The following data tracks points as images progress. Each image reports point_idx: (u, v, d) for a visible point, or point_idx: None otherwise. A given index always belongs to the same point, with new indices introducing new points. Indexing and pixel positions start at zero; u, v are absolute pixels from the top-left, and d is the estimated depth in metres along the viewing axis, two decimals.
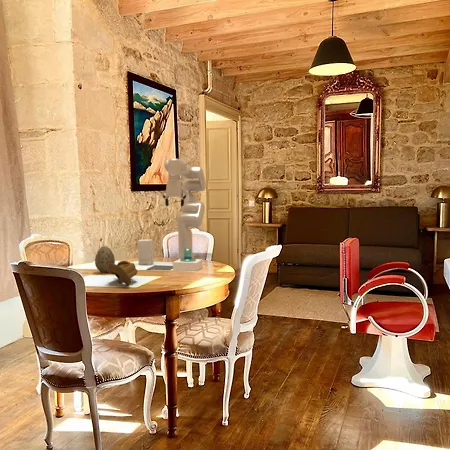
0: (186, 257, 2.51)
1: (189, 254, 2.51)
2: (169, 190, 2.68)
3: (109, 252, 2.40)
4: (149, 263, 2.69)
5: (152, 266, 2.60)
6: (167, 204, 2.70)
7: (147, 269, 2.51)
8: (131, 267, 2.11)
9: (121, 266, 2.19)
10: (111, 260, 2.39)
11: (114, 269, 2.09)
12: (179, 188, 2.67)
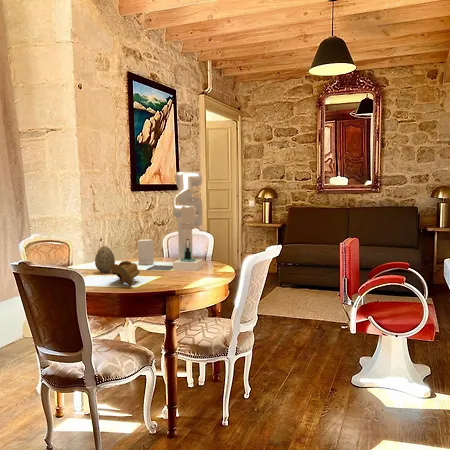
0: None
1: None
2: (191, 239, 2.50)
3: (109, 252, 2.40)
4: (149, 263, 2.69)
5: (152, 266, 2.60)
6: None
7: (147, 269, 2.51)
8: (133, 267, 2.11)
9: (123, 266, 2.18)
10: (111, 260, 2.39)
11: (116, 269, 2.09)
12: None
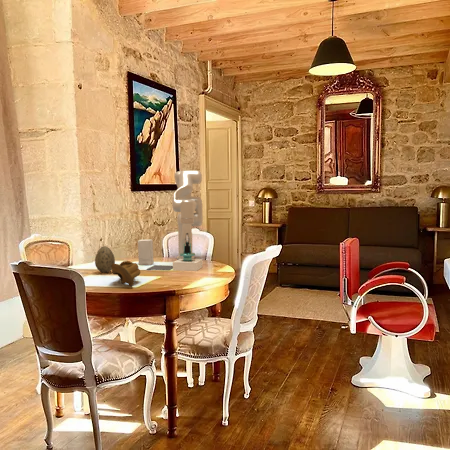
0: None
1: None
2: None
3: (109, 252, 2.40)
4: (149, 263, 2.69)
5: (152, 266, 2.60)
6: None
7: (147, 269, 2.51)
8: (134, 267, 2.10)
9: (124, 266, 2.18)
10: (111, 260, 2.39)
11: (117, 269, 2.08)
12: None
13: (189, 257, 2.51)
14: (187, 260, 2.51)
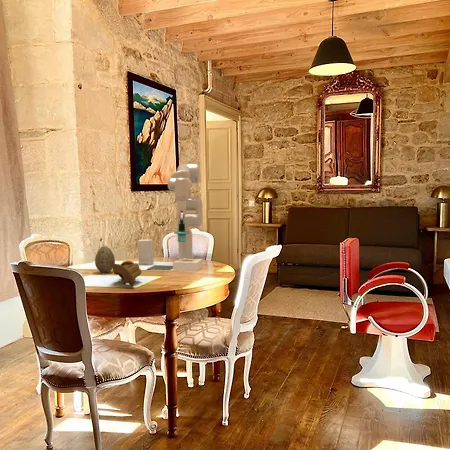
0: None
1: None
2: (185, 211, 2.50)
3: (109, 252, 2.40)
4: (149, 263, 2.69)
5: (152, 266, 2.60)
6: None
7: (147, 269, 2.51)
8: (135, 267, 2.10)
9: (125, 266, 2.18)
10: (111, 260, 2.39)
11: (118, 269, 2.08)
12: None
13: (183, 235, 2.51)
14: (181, 238, 2.51)
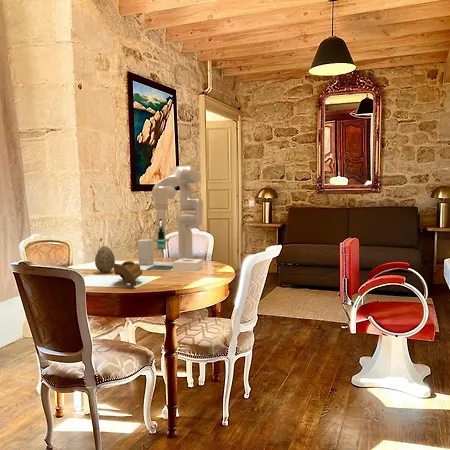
0: None
1: None
2: (165, 219, 2.52)
3: (109, 252, 2.40)
4: (149, 263, 2.69)
5: (152, 266, 2.60)
6: None
7: (147, 269, 2.51)
8: (136, 267, 2.10)
9: (126, 266, 2.18)
10: (111, 260, 2.39)
11: (119, 270, 2.08)
12: None
13: (163, 243, 2.53)
14: (161, 246, 2.53)
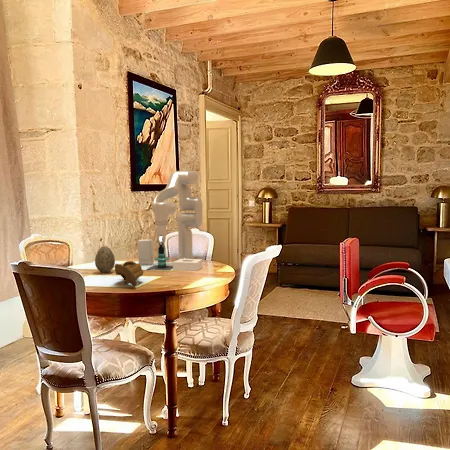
0: (160, 256, 2.54)
1: None
2: (165, 236, 2.53)
3: (109, 252, 2.40)
4: (149, 263, 2.69)
5: (152, 266, 2.60)
6: None
7: (147, 269, 2.51)
8: (137, 268, 2.09)
9: (127, 267, 2.17)
10: (111, 260, 2.39)
11: (120, 270, 2.07)
12: None
13: (163, 261, 2.54)
14: (161, 264, 2.54)
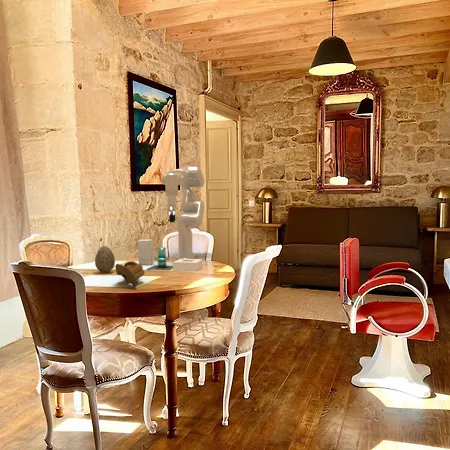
0: (160, 256, 2.54)
1: (163, 253, 2.54)
2: (175, 205, 2.62)
3: (109, 252, 2.40)
4: (149, 263, 2.69)
5: (152, 266, 2.60)
6: None
7: (147, 269, 2.51)
8: (138, 268, 2.09)
9: (128, 267, 2.17)
10: (111, 260, 2.39)
11: (121, 270, 2.07)
12: None
13: (163, 261, 2.54)
14: (161, 264, 2.54)
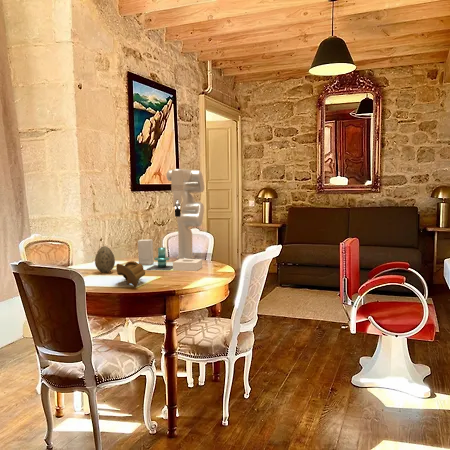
0: (160, 256, 2.54)
1: (163, 253, 2.54)
2: (181, 200, 2.67)
3: (109, 252, 2.40)
4: (149, 263, 2.69)
5: (152, 266, 2.60)
6: None
7: (147, 269, 2.51)
8: (139, 268, 2.09)
9: (129, 267, 2.17)
10: (111, 260, 2.39)
11: (122, 270, 2.07)
12: None
13: (163, 261, 2.54)
14: (161, 264, 2.54)
